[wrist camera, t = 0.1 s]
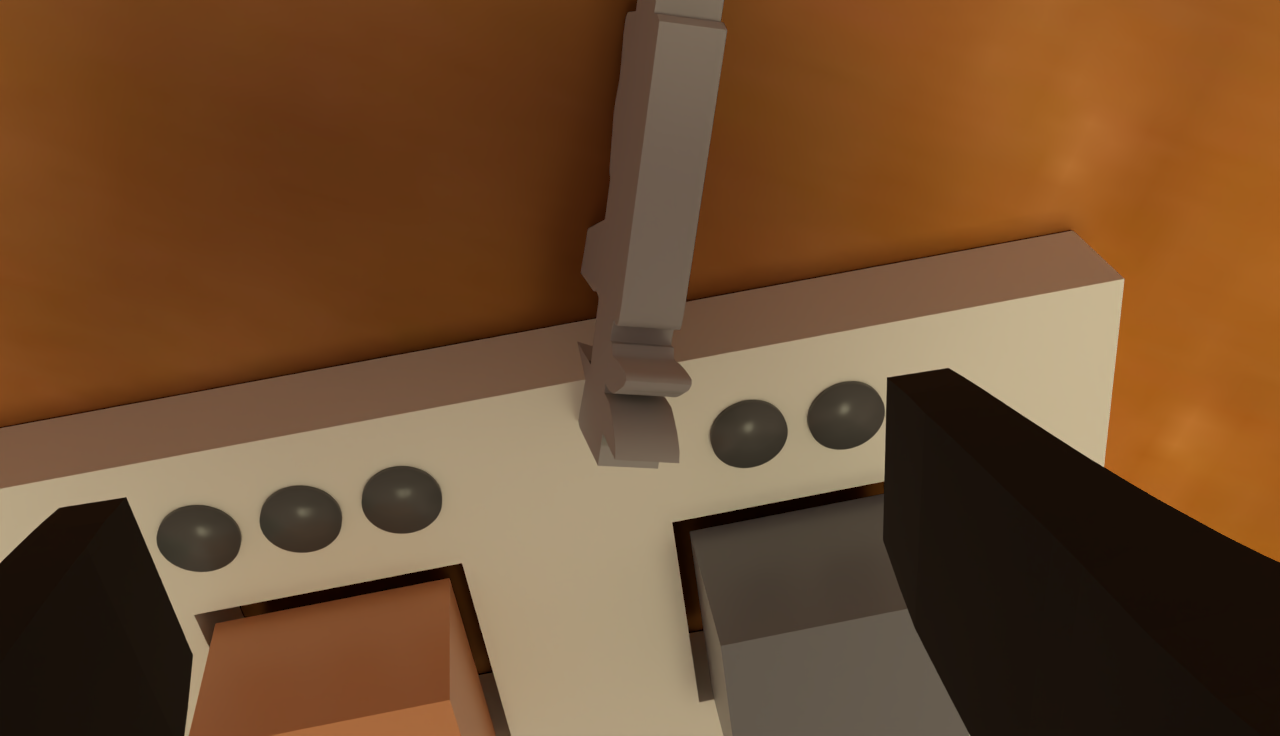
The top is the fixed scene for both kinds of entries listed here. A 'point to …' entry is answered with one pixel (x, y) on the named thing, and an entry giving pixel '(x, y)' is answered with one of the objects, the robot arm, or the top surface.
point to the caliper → (649, 229)
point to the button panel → (567, 466)
